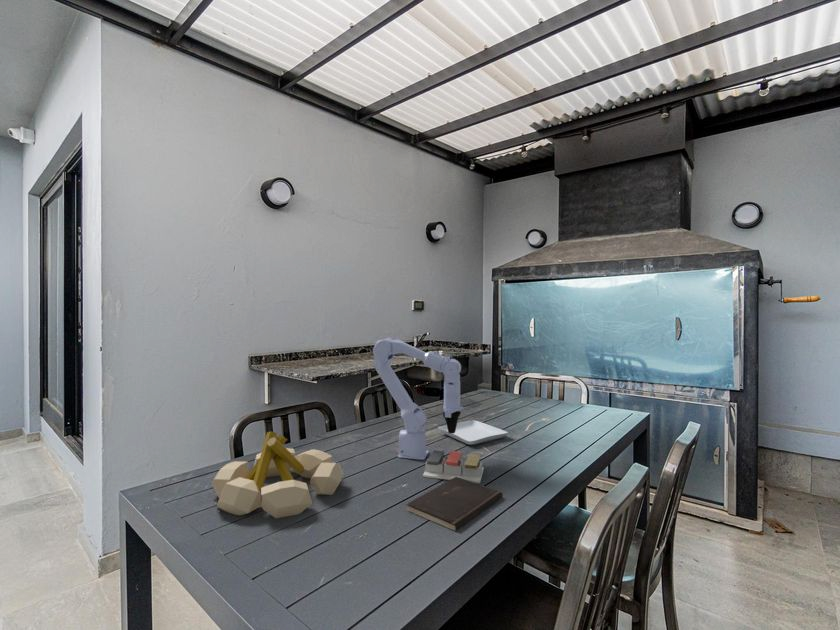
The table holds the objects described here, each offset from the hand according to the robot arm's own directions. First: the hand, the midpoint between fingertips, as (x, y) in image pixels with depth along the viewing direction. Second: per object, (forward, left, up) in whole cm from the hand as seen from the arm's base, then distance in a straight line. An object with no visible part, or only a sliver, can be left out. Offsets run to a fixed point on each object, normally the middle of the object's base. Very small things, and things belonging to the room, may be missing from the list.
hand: (451, 432), depth 147 cm
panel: (+3, -12, -9) cm, 16 cm away
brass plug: (+9, -12, -8) cm, 17 cm away
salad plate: (+4, +27, -10) cm, 29 cm away
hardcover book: (+7, -33, -10) cm, 35 cm away
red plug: (+3, -12, -8) cm, 15 cm away
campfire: (-44, -38, -10) cm, 59 cm away
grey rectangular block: (-3, -12, -8) cm, 15 cm away
